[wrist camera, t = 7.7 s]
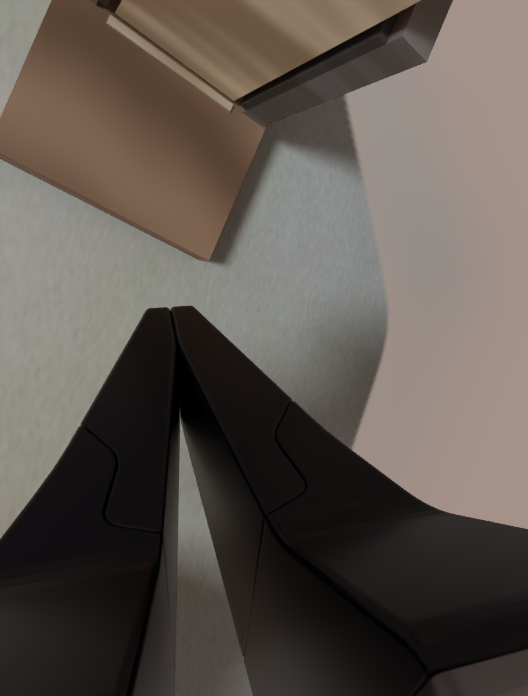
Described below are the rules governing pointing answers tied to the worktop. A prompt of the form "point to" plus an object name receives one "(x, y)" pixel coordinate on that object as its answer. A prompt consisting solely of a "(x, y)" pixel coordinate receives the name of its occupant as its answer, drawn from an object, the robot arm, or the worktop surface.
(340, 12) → the curved wooden panel
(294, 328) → the worktop surface
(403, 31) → the wooden phone stand
